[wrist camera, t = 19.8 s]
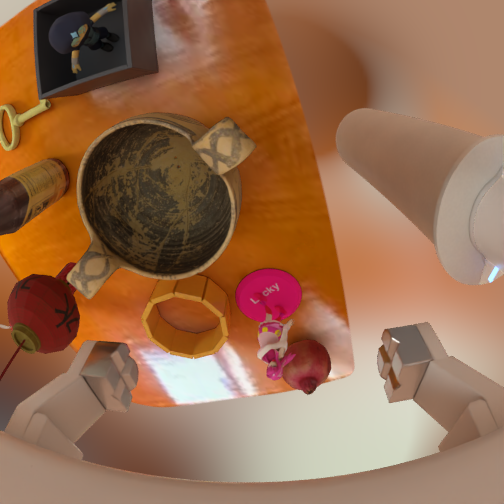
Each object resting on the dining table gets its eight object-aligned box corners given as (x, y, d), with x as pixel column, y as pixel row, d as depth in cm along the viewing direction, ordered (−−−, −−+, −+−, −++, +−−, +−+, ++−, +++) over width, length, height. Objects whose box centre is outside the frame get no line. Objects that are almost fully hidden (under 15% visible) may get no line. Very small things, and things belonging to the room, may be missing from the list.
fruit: (272, 336, 49) (274, 385, 41) (320, 322, 48) (331, 370, 39) (286, 366, 53) (290, 412, 44) (330, 353, 52) (340, 399, 43)
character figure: (103, 79, 30) (47, 80, 20) (80, 68, 29) (21, 67, 19) (141, 15, 27) (96, -10, 16) (116, 5, 26) (65, -19, 15)
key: (58, 104, 32) (49, 105, 30) (10, 154, 34) (1, 158, 33) (39, 66, 29) (30, 66, 27) (-7, 119, 31) (-16, 122, 30)
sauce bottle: (47, 202, 38) (-42, 273, 21) (34, 164, 35) (-65, 219, 18) (79, 191, 38) (-14, 264, 20) (66, 149, 35) (-39, 202, 17)
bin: (151, -10, 25) (125, -32, 18) (158, 72, 31) (132, 67, 23) (70, 19, 26) (33, 9, 18) (77, 95, 31) (38, 100, 24)
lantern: (81, 280, 45) (-14, 433, 18) (59, 227, 40) (-70, 369, 14) (130, 273, 44) (41, 454, 18) (109, 215, 40) (-29, 384, 13)
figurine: (273, 255, 42) (280, 332, 29) (314, 298, 46) (333, 376, 33) (221, 294, 45) (210, 373, 32) (264, 330, 49) (267, 409, 36)
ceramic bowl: (163, 270, 44) (131, 344, 30) (80, 186, 37) (15, 233, 24) (290, 170, 37) (312, 218, 24) (198, 64, 31) (161, 46, 17)
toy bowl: (223, 268, 43) (219, 289, 39) (234, 335, 49) (233, 357, 45) (141, 274, 44) (131, 294, 40) (163, 337, 50) (156, 358, 46)
